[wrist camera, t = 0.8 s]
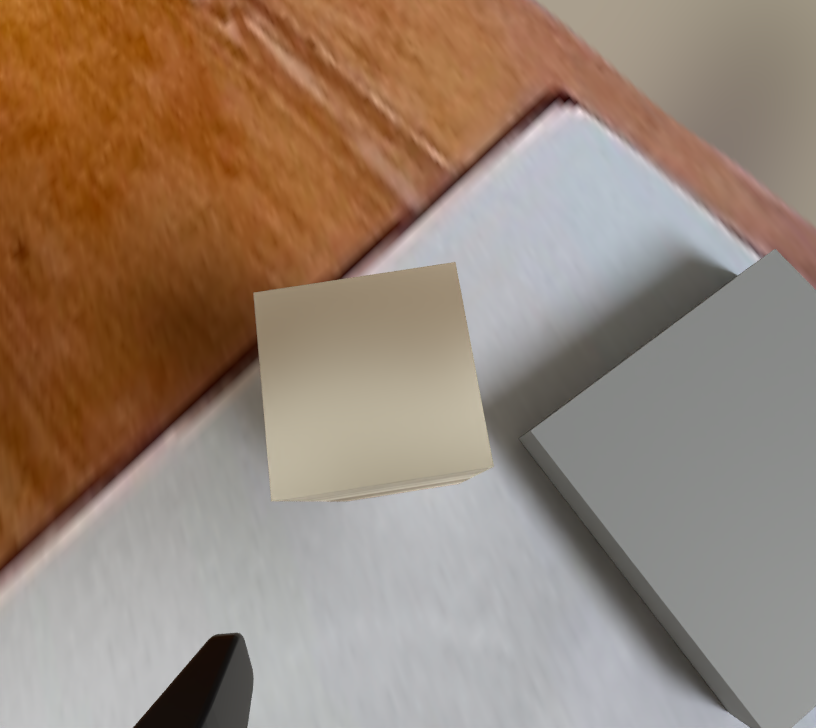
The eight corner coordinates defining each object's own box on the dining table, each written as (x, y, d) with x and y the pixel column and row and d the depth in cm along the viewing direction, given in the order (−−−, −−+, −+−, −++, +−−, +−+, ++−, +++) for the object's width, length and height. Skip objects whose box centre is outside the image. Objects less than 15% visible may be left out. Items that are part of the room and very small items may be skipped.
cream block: (458, 483, 22) (493, 466, 11) (346, 501, 22) (271, 501, 11) (440, 374, 23) (455, 262, 12) (333, 391, 23) (253, 292, 12)
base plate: (729, 713, 19) (773, 743, 17) (518, 438, 22) (530, 430, 19) (962, 510, 21) (1033, 511, 18) (738, 275, 23) (775, 248, 21)
